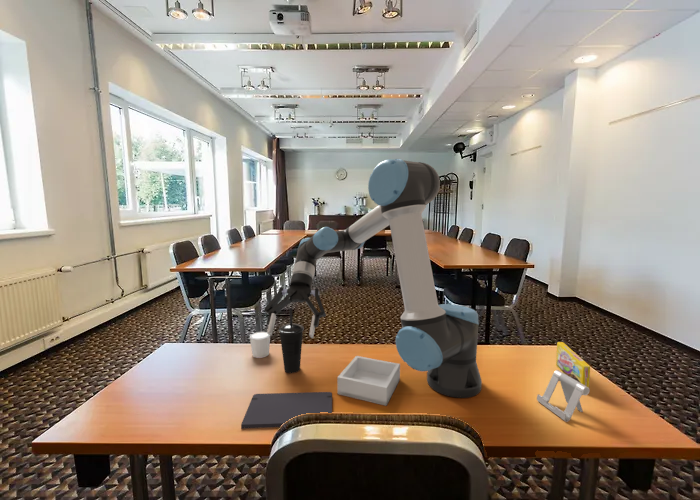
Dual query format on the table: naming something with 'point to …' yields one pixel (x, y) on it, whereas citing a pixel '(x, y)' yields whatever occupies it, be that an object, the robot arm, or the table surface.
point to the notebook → (284, 408)
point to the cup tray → (369, 380)
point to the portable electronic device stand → (571, 393)
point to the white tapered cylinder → (260, 344)
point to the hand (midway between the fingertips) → (290, 335)
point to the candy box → (572, 364)
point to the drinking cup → (291, 345)
